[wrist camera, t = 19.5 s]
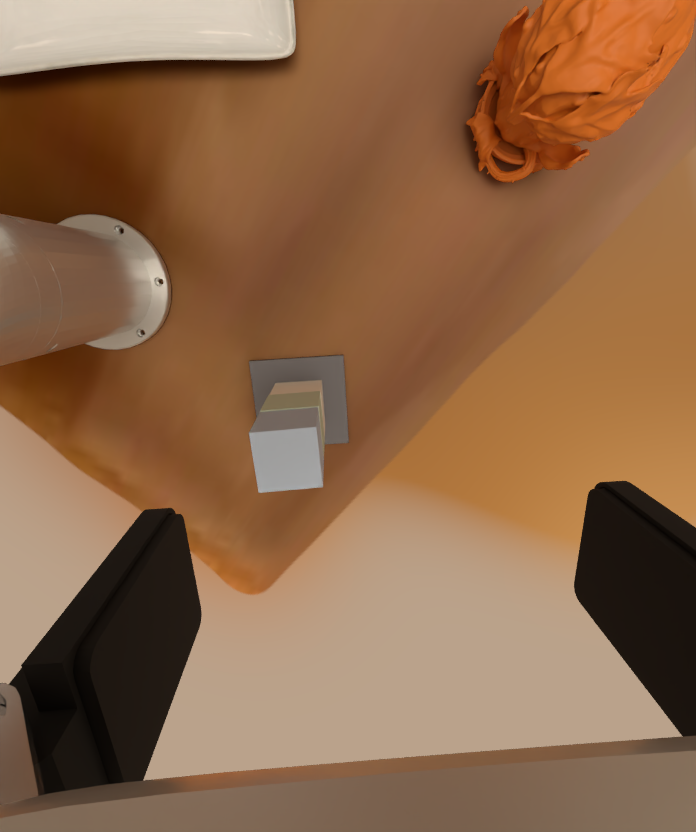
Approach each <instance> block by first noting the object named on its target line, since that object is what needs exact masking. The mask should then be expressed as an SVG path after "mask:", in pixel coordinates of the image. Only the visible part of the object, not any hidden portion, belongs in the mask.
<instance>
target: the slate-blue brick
mask: <svg viewBox="0 0 696 832" xmlns="http://www.w3.org/2000/svg"><path fill="white" fill-rule="evenodd" d="M249 437H250V443H251V449H252V455H253V461H254V467H255V473H256V479H257V485H258V491H259V493H262V492H273V491H285V490H296V489H307V488H318V487H323V471H324V457H323V447H322V438H321V429H320V420H319V410H318V407H313V408H302V409H290V410H279V411H268V412H260V413H259V415H258V416H257V418H256V420H255V422H254V424H253V426H252V428H251V430H250V432H249Z"/></svg>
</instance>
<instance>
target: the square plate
mask: <svg viewBox="0 0 696 832" xmlns="http://www.w3.org/2000/svg"><path fill="white" fill-rule="evenodd" d="M295 46H296V27H295V15H294V3H293V0H0V76H6V75H14V74H22V73H29V72H37V71H44V70H52V69H59V68H67V67H75V66H84V65H94V64H105V63H115V62H128V61H148V60H274V59H281V58H286V57H289V56H290V55H292V54H293V52H294V50H295Z"/></svg>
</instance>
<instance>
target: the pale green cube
mask: <svg viewBox="0 0 696 832" xmlns="http://www.w3.org/2000/svg"><path fill="white" fill-rule="evenodd" d="M313 407H318V410H319V420H320V429H321V438H322V447H323V457H324V443H325V437H324V427H323V416H322V406H321V395H320V391H313V392H300V393H287V394H274V395H268V397H267V399H266V400H265V402H264V404H263V406H262V408H261V410H260V412H268V411H279V410H290V409H302V408H313Z"/></svg>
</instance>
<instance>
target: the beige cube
mask: <svg viewBox="0 0 696 832" xmlns="http://www.w3.org/2000/svg"><path fill="white" fill-rule="evenodd" d="M313 391H320V395H321V406H322V416H323V427H324V437H325V414H324V402H323V389H322V380H314V381H299V382H283V383H275V385H274V387H273V389H272V391H271V393H270V394H269V395H274V394H287V393H300V392H313Z"/></svg>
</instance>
